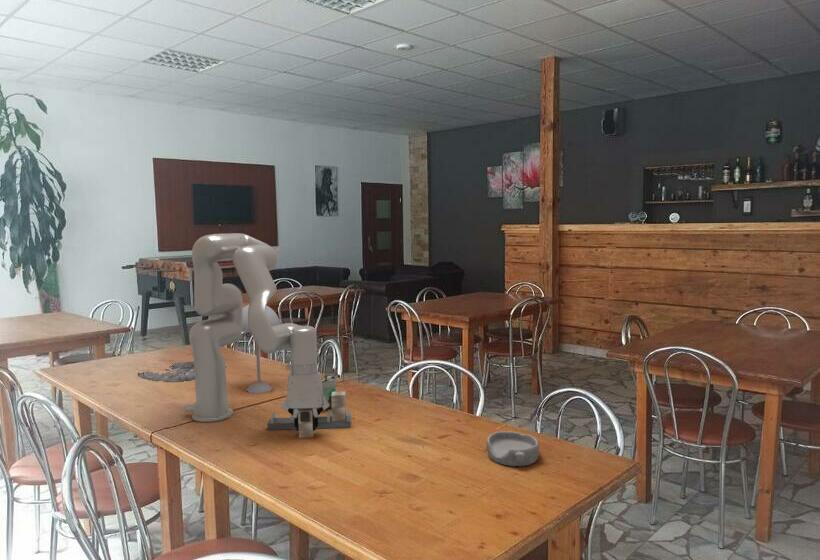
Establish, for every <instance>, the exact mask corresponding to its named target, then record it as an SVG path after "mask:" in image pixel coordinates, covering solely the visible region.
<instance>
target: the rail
mask: <svg viewBox="0 0 820 560" xmlns="http://www.w3.org/2000/svg"><path fill="white" fill-rule="evenodd" d="M327 411H328V412H327V415H326V416H318V427H316V430H317V429H346V428H347V429H348V428H349V429H351V425H352V415H351V414H352V412H351V411H352V410H351V409H348V410H347V411H346V420H345V421H332V409H330V410H327ZM266 425H267V427H266V429H267V431H276V430H277V431H278V429H279V430H280V429H281V430H282V429H285V430H297V427H295V422H294V417H293V416H292V415H291V414H290V417H278V416H277V411H273V412H272V414H271V416H270V418H269V419H268V421H267V423H266Z"/></svg>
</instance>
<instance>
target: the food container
mask: <svg viewBox="0 0 820 560" xmlns="http://www.w3.org/2000/svg"><path fill="white" fill-rule="evenodd" d="M321 380H322V388H323V395H324V397H325V398H326V399H327V401H328V402H329V394H332V392H336V386H337V385H338V379H337V377H336V375H334V374H330V373H324V377H321ZM322 405H324V404H323V403H322ZM318 409H319V408H318ZM325 410H326V411H329V410H332V405H329V407H328V408H326V409H325ZM325 410H323V411H322V412H324V411H325ZM326 411H325V412H326Z"/></svg>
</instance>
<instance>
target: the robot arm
mask: <svg viewBox="0 0 820 560" xmlns="http://www.w3.org/2000/svg"><path fill="white" fill-rule="evenodd" d="M191 259H192V264H193V265H192V266H193V273H194V278H193V281H194V282H193V283H194V285H193V286H194V287H193V288H194V289H193V291H194V295H193V297H194V298H193V299H194V300H193V301H194V309H195V311H196V313H197V314H198V315H199V316H202V317H212V316H217V315H218V317H214V318H209V319H204V320H201V321H198V322H196V323H194V324H193V325H192V326H191V328H190V330H189V333H188V335H189V337H188V339H189V343H190V346H191V350H192V356H193V361H194V369H195V380H194V383H195V397H196V399H195V400H196V402H194V403H184V405H183V410H184V411H185V412H193V413H192V415H191V418H192V420H193V421H195V422H201V423H211V422H219V421H222V420H226V419H228V418H230V417H232V415H233V414H234V410H233V409H232V408H231V407H229V406H228V388H227V386H228V385H227V368H226V367H227V365H226V361H225V357H224V355H223V353H222V352H221V350H220V348H221V347H224V346H230V345H232V344H235V343H237V342H238V341H239V340H240V339H241V336H242V333H243V332H242V308H243V307H244V306H243V297H242V293H241V291H240V289H239V288H238V287H237V286H236V285H234V284H232V283H223V270H222V268H221V266H220V265H219V263H218V262H223V261H224V262H225V261H229V262H230V261H232V262H233V265H234V267H235V269H236V272H237V274H238V276H239V278H240V280H241V283H242V284H243V287H244V289H245V291H246V293H247V296H248V298H249V304H248V305H249V308H248V325H249V329H250V331H251V332H250V333H251V336H252V338H253V339H254V342H255V345H256V344H257V345H258V347H259V350H261V352H263V353H265V354H274V353H278V352H280V351H284V350H288V349H290V361H291V362H290V364H288V365H286V366H285V367H286V371H287V370H288V371H290V373H289V374H288V378H287V390H286V391H287V393H286V398H285V400H284V402H283V404H281V408H282V409H283V410H284V411H285V412H286V411H287V412H288V413H289V414H290V416H291V415H292V416H293V417H294V422H295V427H297V429H296V432H299V423H298V410H299V409H311V408H312V410H313V418H312V420H313V431H314V432H315V431H316V430H317V429H316V427H318V417H319V416H320V414H321V413H323V412H324V411H323V410H325V409H326V408H328V407H329V405H330V404H329V402H328V401H327V399H326V398H325V397H324V395H323V388H322V380H321V379H322V376H321V373H320V371H318V370H319V367H318V346H317V345H318V343H317V341H318V339H317V329H316V328H315V327H314V326H311V325H299V324H296V323H294V322H293V323H292V322H285V323H280V325H276V326H272V327H271V325H270V323H269V321H268V319H267V316H266V306H267V304H268V302H269V300H270V299H271V298H272V297H273V296H274V295H275V294H276V293H277V285H276V283H275V281H274V279H273V277H272V275H271V273H270V271H273V270H274V269H275V268H276V266H277V264H278V255H277V252H276V251H275V249H274V248H273V247H272V246H271V245H269V244H268V243H266V242H263V241H261V240H259V239H256V238H255V237H252V236H250V235H248V234H245V233H239V232H237V233H233V232H232V233H213V234H206V235H203V236H201V237H199V238H198V239H197V240H196V241H195V242H194V244H193V246H192V250H191ZM322 403H323V404H324V405H322ZM318 408H319V409H318Z"/></svg>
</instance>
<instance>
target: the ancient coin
mask: <svg viewBox="0 0 820 560" xmlns="http://www.w3.org/2000/svg"><path fill="white" fill-rule="evenodd" d="M176 363H177V364H176ZM172 364H173V362H172ZM174 364H175V365H174ZM174 364H173V365H172V366H170V367H169V368H171V367H172V368H171V369H172V370H173V371H170V370H169V369H165V370H166V371H169V372H166V373H165V374H164V373H162V374H161V375H159V373H154V374H153V372H149V371H147V372H143V373H139V372H138V373H137V375H138V376H139V377H138V376H137V377H138V378H140V377H141V379H143V380H146V379H147V381H150V380H152V381H151V382H158V381H163V382H162V383H184V381H187V382H193V381H195V369H194V360H193V361H181V362H174ZM174 370H175V371H176V372H175V371H174ZM170 372H173V373H170ZM174 372H175V373H174ZM192 380H193V381H192Z"/></svg>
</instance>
